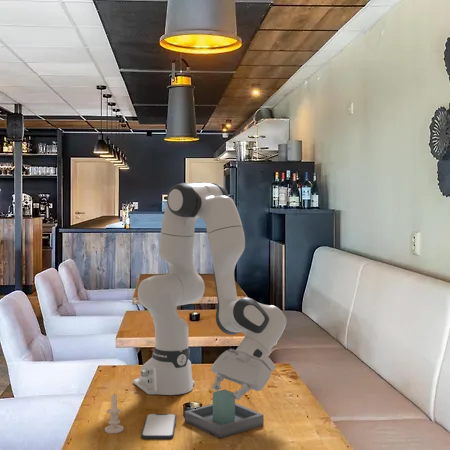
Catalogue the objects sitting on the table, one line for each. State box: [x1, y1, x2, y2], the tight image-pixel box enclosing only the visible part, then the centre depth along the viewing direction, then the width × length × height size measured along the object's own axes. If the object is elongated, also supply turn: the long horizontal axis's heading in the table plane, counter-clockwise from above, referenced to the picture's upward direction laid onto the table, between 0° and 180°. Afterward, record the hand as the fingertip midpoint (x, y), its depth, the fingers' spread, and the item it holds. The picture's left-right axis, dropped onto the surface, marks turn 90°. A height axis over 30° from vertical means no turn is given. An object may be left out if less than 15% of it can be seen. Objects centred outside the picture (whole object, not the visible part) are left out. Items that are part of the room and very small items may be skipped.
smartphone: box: [140, 413, 177, 440], centre depth 168 cm, size 9×2×16 cm
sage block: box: [212, 389, 236, 425], centre depth 172 cm, size 4×4×8 cm
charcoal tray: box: [184, 402, 265, 440], centre depth 172 cm, size 16×16×3 cm
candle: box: [104, 393, 125, 434], centre depth 166 cm, size 5×5×10 cm
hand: (224, 393), depth 172 cm, fingers open, 8 cm apart
